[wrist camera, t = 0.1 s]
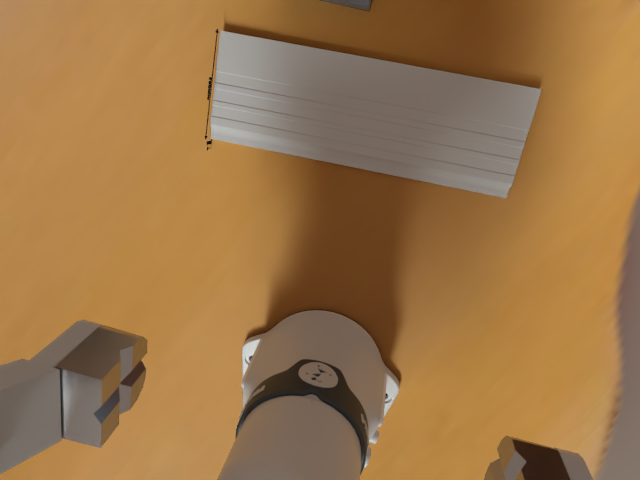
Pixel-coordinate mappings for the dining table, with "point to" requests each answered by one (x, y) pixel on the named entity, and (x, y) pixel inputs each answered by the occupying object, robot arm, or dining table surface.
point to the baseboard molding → (370, 113)
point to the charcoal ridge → (353, 3)
